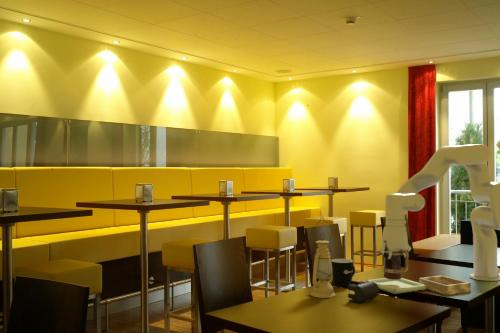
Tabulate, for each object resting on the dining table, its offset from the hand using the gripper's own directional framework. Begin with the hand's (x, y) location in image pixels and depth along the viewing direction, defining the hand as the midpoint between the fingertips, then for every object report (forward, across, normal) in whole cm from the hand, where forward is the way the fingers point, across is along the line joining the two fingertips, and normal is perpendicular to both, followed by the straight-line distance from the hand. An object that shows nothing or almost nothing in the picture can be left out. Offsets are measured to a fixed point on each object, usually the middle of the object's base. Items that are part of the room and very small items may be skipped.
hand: (395, 267), depth 205 cm
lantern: (+8, +34, -1) cm, 35 cm away
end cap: (+9, +25, +13) cm, 29 cm away
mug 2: (+5, 0, 0) cm, 5 cm away
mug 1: (+8, +16, -13) cm, 22 cm away
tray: (+8, 0, 0) cm, 8 cm away
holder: (+8, -15, +11) cm, 20 cm away
